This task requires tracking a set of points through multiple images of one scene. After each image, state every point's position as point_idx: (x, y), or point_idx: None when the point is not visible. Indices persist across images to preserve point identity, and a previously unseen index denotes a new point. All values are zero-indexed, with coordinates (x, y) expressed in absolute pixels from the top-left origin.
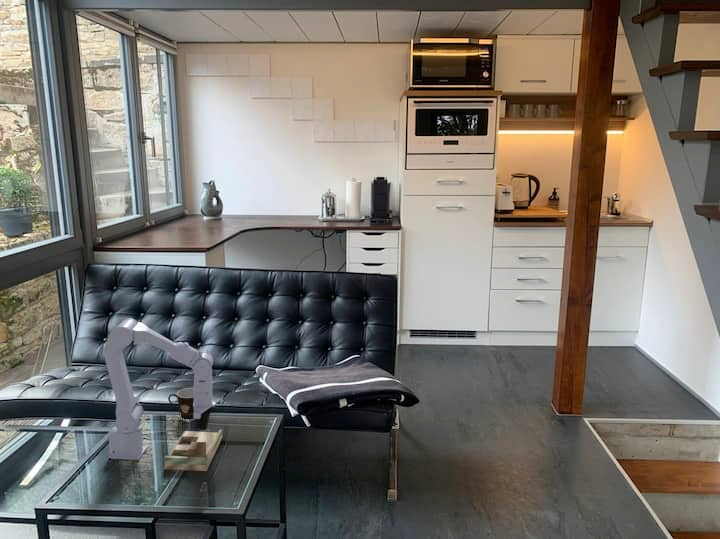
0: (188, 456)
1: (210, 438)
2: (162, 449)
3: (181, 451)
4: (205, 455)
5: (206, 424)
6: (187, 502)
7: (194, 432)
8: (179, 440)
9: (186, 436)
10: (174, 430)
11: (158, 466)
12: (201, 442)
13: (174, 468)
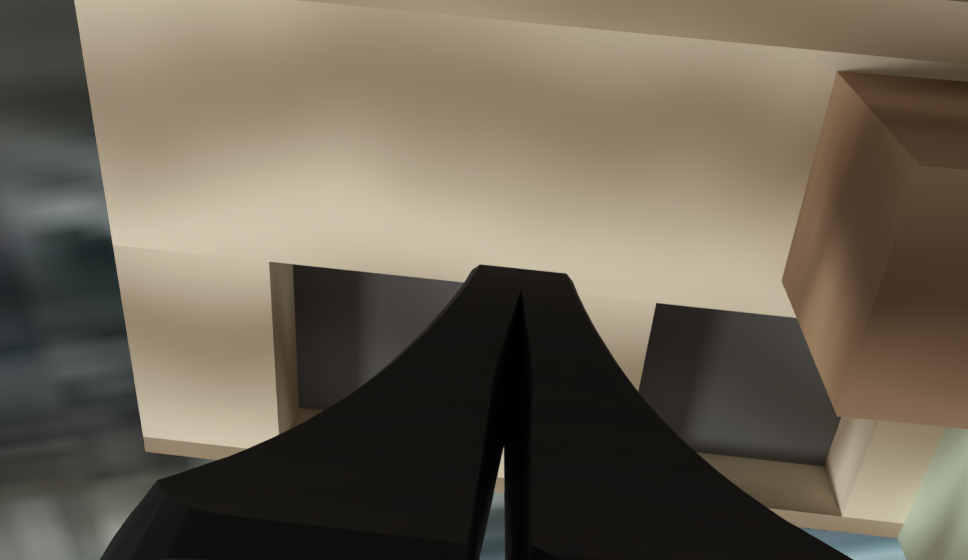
0: None
1: (290, 85)
2: (484, 553)
3: None
4: (886, 80)
5: (603, 341)
6: None
7: (153, 335)
8: None
9: (276, 410)
10: (71, 509)
11: (837, 539)
12: (912, 253)
13: None
